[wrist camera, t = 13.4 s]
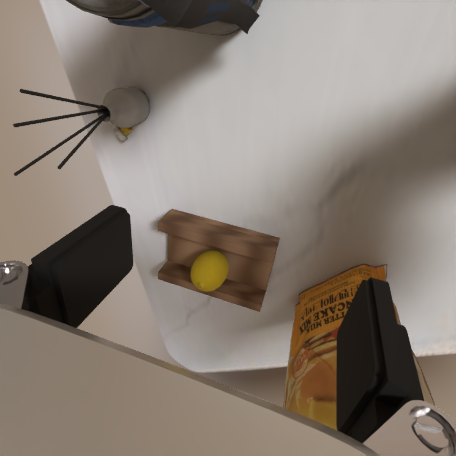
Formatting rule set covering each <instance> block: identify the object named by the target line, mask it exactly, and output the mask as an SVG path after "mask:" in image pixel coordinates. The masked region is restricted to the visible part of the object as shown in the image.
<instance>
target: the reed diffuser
mask: <svg viewBox="0 0 456 456" xmlns="http://www.w3.org/2000/svg"><path fill="white" fill-rule="evenodd" d="M20 92H21V93H26V94H31V95H36V96H41V97H46V98H51V99H56V100H61V101H66V102H71V103H76V104H81V105H86V106H91V107H96V108H98V109H97V110H94V111H88V112H82V113H76V114H70V115H64V116H58V117H52V118H46V119H40V120H35V121H28V122H23V123H17V124H14V125H13V126H14V127H19V126H25V125H30V124H36V123H41V122H47V121H52V120H58V119H63V118H69V117H75V116H80V115H86V114H91V113H98V116H99V117H98V118H97V119H95V120H94V121H92V122H91V123H89V124H88V125H86V126H85V127H84V128H82V129H80V130H79V131H77V132H76V133H74V134H73V135H71V136H70V137H68V138H67V139H65V140H64V141H62V142H61V143H59V144H58V145H56V146H55V147H53V148H52V149H50V150H49V151H47V152H46V153H44V154H43V155H41V156H40V157H38V158H37V159H35V160H34V161H32V162H31V163H29V164H28V165H26V166H25V167H23V168H22V169H20V170H19V171H17V172H15V173H14V175H15V176H17V175H18V174H20V173H21V172H23V171H24V170H26V169H27V168H29V167H30V166H31V165H33V164H35V163H36V162H38V161H39V160H40V159H42V158H44V157H45V156H46V155H48V154H49V153H51V152H52V151H54V150H55V149H57V148H58V147H60V146H61V145H63V144H64V143H66V142H67V141H69V140H70V139H72V138H73V137H75V136H76V135H78V134H79V133H81V132H82V131H84V130H85V129H87V128H88V127H90V126H91V125H93V124H94V123H96V122H97V121H98V120H99V121H98V122H97V124H96V125H95V126H94V127H93V128H92V129H91V130H90V131H89V132H88V134H87V135H86V136H85V137H84V138H83V139H82V140H81V141H80V143H79V144H78V145H77V146H76V147H75V148H74V149H73V150H72V151H71V153H70V154H69V155H68V156H67V157H66V158H65V159H64V160H63V161H62V163H61V164H60V165H59V166H58V169H61V168H62V166H63V165H64V164H65V163H66V162H67V161H68V159H69V158H70V157H71V156H72V155H73V154H74V153H75V152H76V150H77V149H78V148H79V147H80V146H81V145H82V144H83V142H84V141H85V140H86V139H87V138H88V137H89V136H90V134H91V133H92V132H93V131H94V130H95V129H96V128H97V126H98V125H99V124H100V123H101V122H102V121H105V122H106V121H110V122H111V123H112V124H114V125H115V126H117V127H116V128H115V129H114V131H115V133H116V135H117V136H118V137H119V138H120V139H121V140H122V141H123V142H124V141H125V140H127V139H128V137H127V134H129V133H130V132H131V129H130V127H131V126H134V125H136V124H138V123H141V122H143V121H144V120H145V119H146V118H147V117H148V115H149V110H150V108H149V102H148V100H147V98H146V96H145V95H144V93H143V92H142V91H140V90H139V89H137V88H133V87H129V88H119V89H114V90H112V91H110V92H109V93H107V95H106V96H105V98H104V102H103V105H101V106H99V105H94V104H89V103H84V102H80V101H75V100H70V99H65V98H61V97H56V96H52V95H46V94H42V93H37V92H33V91H28V90H23V89H20ZM120 127H121V128H120Z"/></svg>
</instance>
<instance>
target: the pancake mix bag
mask: <svg viewBox="0 0 456 456" xmlns="http://www.w3.org/2000/svg"><path fill="white" fill-rule="evenodd" d="M386 275H387V265H383V266H380V267H376V268H375V267H372V266H369V265H366V264H363V265H360V266H356V267H353V268H351V269H349V270H347V271H345V272H343V273H341V274H339V275H336V276H334V277H332V278H330V279H328V280H326V281H325V282H323V283H321V284H318V285H316V286H314V287H312V288H310V289H308V290H306V291H304V292H302V293H301V294H299V302H300V303H299V304H298V305H296V306H295V319H294V323H293V330H292V337H291V345H290V354H289V361H288V367H287V374H286V381H285V388H284V404H283V408H285V409H288V410H290V411H293V412H295V413H298V414H300V415H303V416H305V417H308V418H310V419H313V420H315V421H317V422H320V423H322V424H324V425H326V426H328V427H331V428H333V429H335V430H337V427H336V368H337V332H338V329H339V327H340V325H341V323H342V321H343V319H344V317H345V314H346V312H347V310H348V308H349V306H350V304H351V302H352V300H353V298H354V296H355V294H356V292H357V290H358V288H359V286H360V284H361V282H362V280H368V279H369V278H370V277H372V278H376V279H379V280H383V281H386ZM393 305H394V310H395V314H396V319H397V323H398V324H399V325H401V323H400V320H399V316H398V313H397V309H396V306H395V304H394V303H393ZM412 353H413V351H412ZM413 357H414V361H415V365H416V369H417V373H418V377H419V381H420V385H421V389H422V393H423V397H424V401H425V402H428V403H430V404H432V405H434V406H435V404H434V401H433V398H432V396H431V393H430V390H429V388H428V385H427V382H426V380H425V377H424V375H423V372H422V370H421V368H420V365H419V363H418V361H417V359H416V357H415V355H414V353H413ZM337 431H338V430H337Z"/></svg>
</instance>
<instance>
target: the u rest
mask: <svg viewBox="0 0 456 456" xmlns="http://www.w3.org/2000/svg"><path fill="white" fill-rule="evenodd" d="M158 231H161V232H165V233H168V261H167V262H166V263H165V265H164V266H163V267H162V268H161V270H160V271H159V272H158V279H160V280H163V281H166V282H169V283H172V284H175V285H178V286H181V287H184V288H188V289H191V290H194V291H197V292H200V293H203V294H206V295H209V296H212V297H215V298H219V299H222V300H225V301H228V302H231V303H234V304H237V305H240V306H243V307H246V308H249V309H253V310H256V311H259V312H260V309H261V306H262V302H263V299H264V295H265V292H266V288H267V284H268V280H269V277H270V273H271V269H272V265H273V262H274V258H275V254H276V250H277V247H278V243H279V239H280V238H277V237H274V236H270V235H266V234H263V233H259V232H255V231H252V230H248V229H244V228H241V227H237V226H233V225H230V224H226V223H222V222H218V221H215V220H211V219H207V218H204V217H200V216H196V215H193V214H189V213H185V212H182V211H178V210H174V209H171V210H170V211H169V212H168V213H167V214H166V215H165V216H164V217H163V218H162V219H161V220H160V221H159V222H158ZM209 250H215V251H218V252H220V253H222V254H223V255H224V256H225V257H226V259H227V261H228V265H229V271H228V274H227V277H226V279H225V281H224V282H223V284H222V285H221V286H220V287H219V288H217V289H215V290H213V291H209V292H206V291H202V290H199V289H198V288H196V287H195V286H194V284H193V282H192V280H191V268H192V265H193V263H194V261H195V259H196V258H197V257H198V256H199V255H200V254H202V253H203V252H205V251H209Z"/></svg>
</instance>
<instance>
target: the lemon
mask: <svg viewBox="0 0 456 456" xmlns="http://www.w3.org/2000/svg"><path fill="white" fill-rule="evenodd" d="M228 271H229V265H228V261H227V259H226V257H225V256H224V255H223V254H222V253H220V252H218V251H215V250H209V251H205V252H203V253H202V254H200V255H199V256H198V257H197V258H196V259H195V261H194V263H193V265H192V268H191V280H192V282H193V284H194V286H195V287H196V288H198V289H199V290H202V291H206V292H209V291H213V290H215V289H217V288H219V287H220V286H221V285H222V284H223V282H224V281H225V279H226V277H227V274H228Z"/></svg>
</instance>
